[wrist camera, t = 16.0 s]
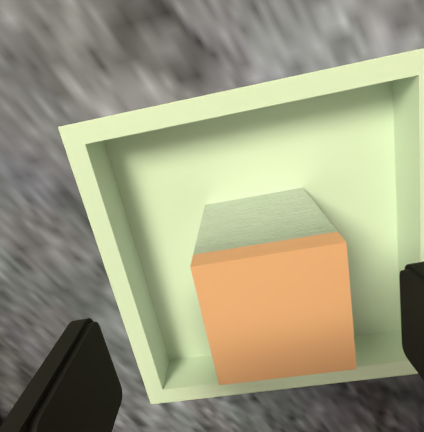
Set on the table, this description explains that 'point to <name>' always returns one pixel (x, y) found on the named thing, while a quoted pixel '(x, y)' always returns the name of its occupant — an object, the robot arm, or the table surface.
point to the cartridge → (273, 288)
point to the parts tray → (253, 186)
